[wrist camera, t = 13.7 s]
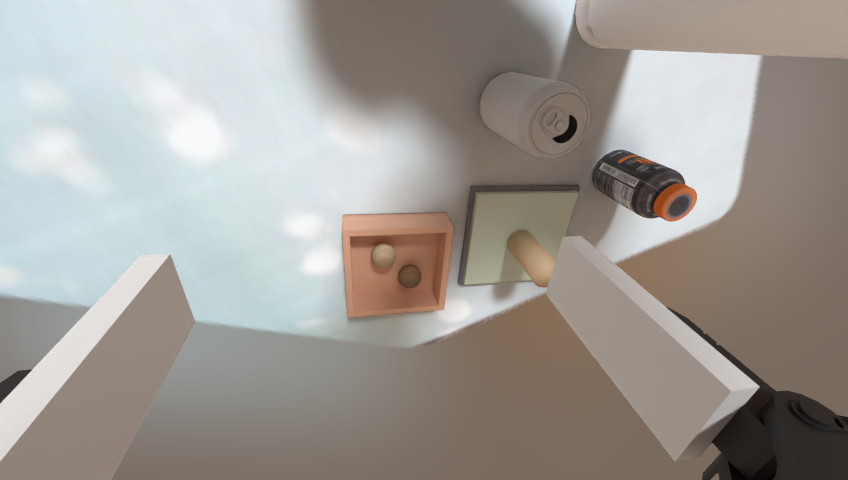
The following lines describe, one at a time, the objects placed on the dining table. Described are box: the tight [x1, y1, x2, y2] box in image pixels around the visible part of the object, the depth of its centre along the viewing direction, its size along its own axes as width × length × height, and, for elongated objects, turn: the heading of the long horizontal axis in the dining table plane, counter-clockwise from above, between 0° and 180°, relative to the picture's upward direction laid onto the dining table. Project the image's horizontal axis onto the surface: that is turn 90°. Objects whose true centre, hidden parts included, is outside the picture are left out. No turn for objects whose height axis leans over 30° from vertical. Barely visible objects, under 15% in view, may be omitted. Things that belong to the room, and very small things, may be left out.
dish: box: [342, 212, 454, 318], centre depth 44 cm, size 13×13×4 cm
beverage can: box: [480, 72, 591, 158], centre depth 33 cm, size 6×6×12 cm
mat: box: [458, 185, 580, 284], centre depth 48 cm, size 15×15×1 cm
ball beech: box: [371, 243, 396, 268], centre depth 43 cm, size 3×3×3 cm
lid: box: [463, 191, 579, 287], centre depth 44 cm, size 14×14×9 cm
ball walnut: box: [398, 264, 422, 289], centre depth 45 cm, size 3×3×3 cm
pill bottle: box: [593, 150, 697, 221], centre depth 41 cm, size 6×6×11 cm
